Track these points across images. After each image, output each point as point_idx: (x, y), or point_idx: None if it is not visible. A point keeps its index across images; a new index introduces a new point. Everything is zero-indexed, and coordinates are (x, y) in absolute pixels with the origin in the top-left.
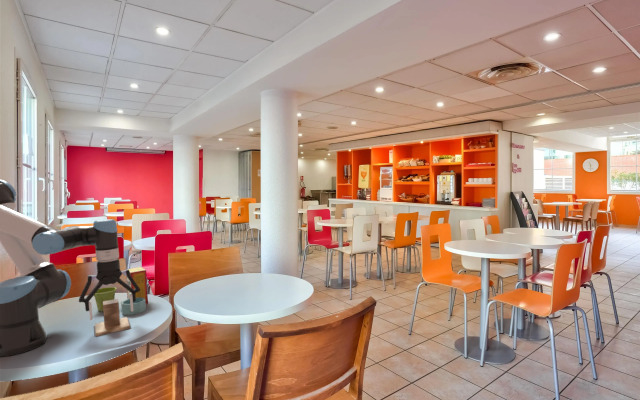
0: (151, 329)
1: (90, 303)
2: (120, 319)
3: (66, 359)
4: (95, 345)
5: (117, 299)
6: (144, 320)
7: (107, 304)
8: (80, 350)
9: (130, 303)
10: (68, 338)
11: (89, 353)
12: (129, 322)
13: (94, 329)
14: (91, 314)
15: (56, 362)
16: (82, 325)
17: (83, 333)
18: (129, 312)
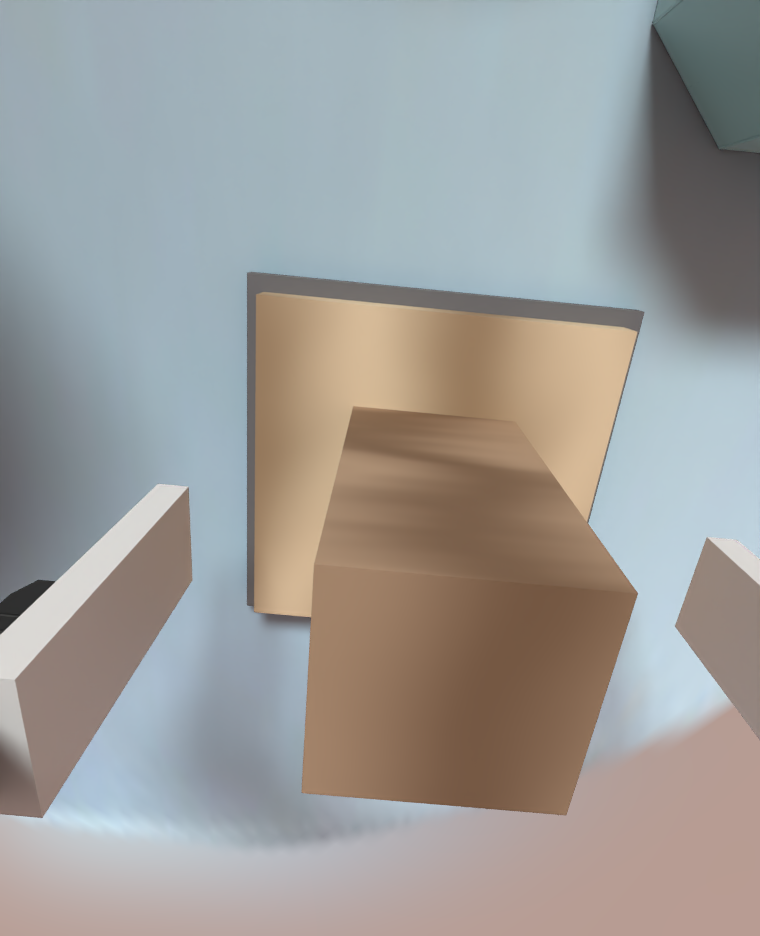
0: (679, 717)
1: (41, 793)
2: (546, 368)
3: (88, 807)
4: (255, 727)
5: (616, 637)
6: (756, 457)
7: (372, 794)
8: (158, 740)
9: (754, 673)
10: (25, 426)
11: (216, 814)
12: (604, 460)
13: (253, 403)
14: (153, 627)
15: None
16: (116, 31)
17: (153, 386)
18: (750, 128)
